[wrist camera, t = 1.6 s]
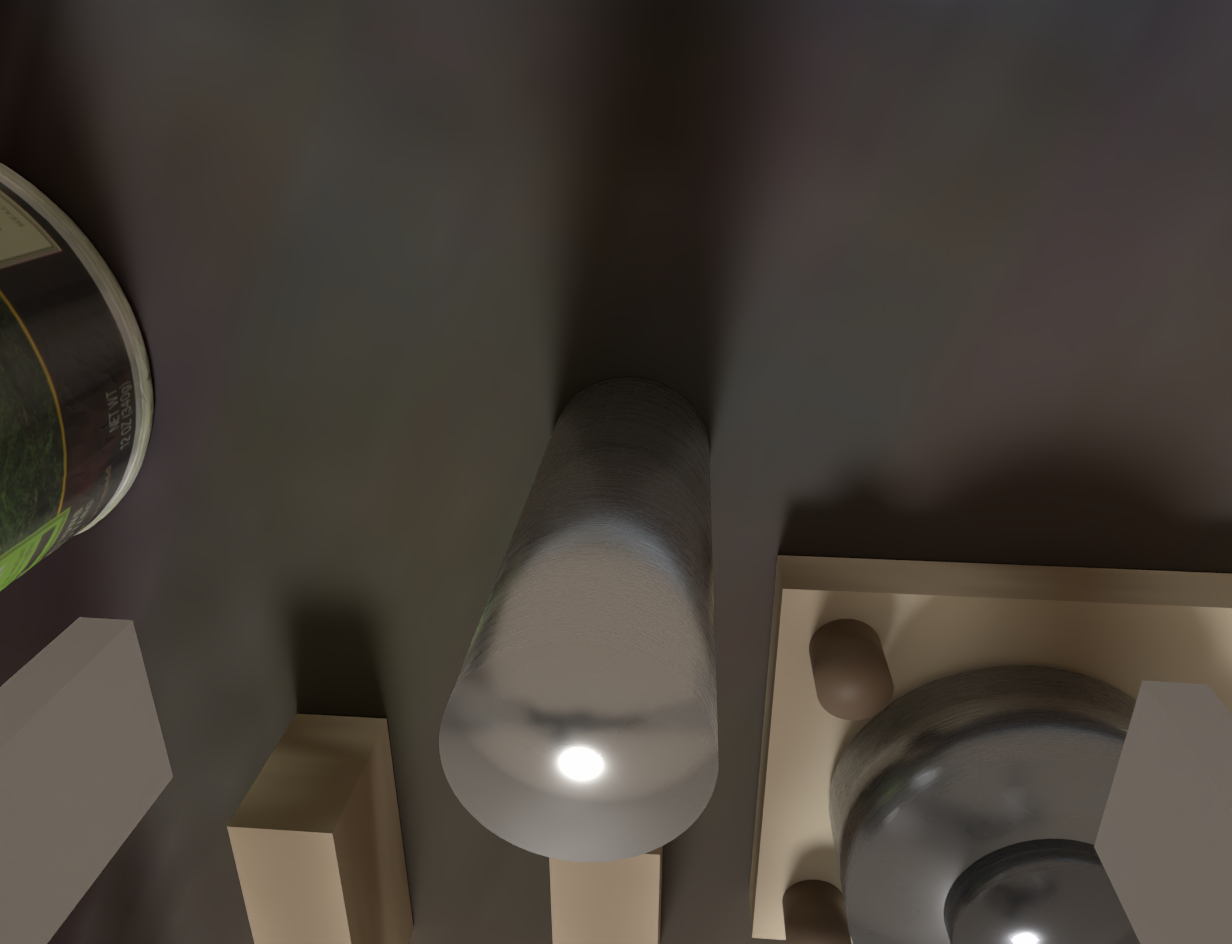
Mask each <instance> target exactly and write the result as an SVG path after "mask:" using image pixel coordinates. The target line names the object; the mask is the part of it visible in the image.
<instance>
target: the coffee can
mask: <svg viewBox="0 0 1232 944" xmlns="http://www.w3.org/2000/svg"><path fill="white" fill-rule="evenodd" d="M153 411H154V399H153V385H152V378H151V373H150V367H149V360H148V356H147V352H146V348H145V344H144V341H143V338H142V334H141V331H140V328H139V325H138V323H137V320H136V318H135V316H134V313H133V311H132V309H131V307H130V304H129V302H128V300H127V298H126V296H125V294H124V292H123V291H122V289H121V287H120V285H119V283H118V281H117V279H116V278H115V276H114V275H113V273H112V271H111V270H110V268H109V267H108V265H107V264H106V262H105V261H104V259H103V258H102V257H101V255H100V254H99V252H98V251H97V250H96V248H95V247H94V246H93V244H92V243H91V242H90V240H89V239H88V238H87V237H86V235H85V234H84V233H83V232H82V231H81V229H80V228H79V227H78V226H77V225H76V224H75V222H74V221H73V220H72V219H71V218H70V217H69V216H68V215H67V214H65V213H64V212H63V211H62V210H61V209H60V208H59V207H58V206H57V205H56V204H55V203H53V202H52V201H51V200H50V199H49V198H48V197H47V196H46V195H45V194H43V193H42V192H41V191H40V190H39V189H37V188H36V187H35V186H34V185H32V184H31V183H30V182H28V181H27V180H26V179H24V178H23V177H21V176H20V175H19V174H17V173H16V172H15V171H13V170H12V169H10V168H9V167H7V166H6V165H4V164H2V163H0V591H1V590H2V589H4V588H5V587H6V586H8V585H9V584H10V583H12V582H13V581H14V580H15V579H17V578H18V577H20V576H21V575H23V574H24V573H25V572H27V571H28V570H29V569H30V568H32V567H33V566H34V565H36V564H37V563H38V562H40V561H41V560H42V559H43V558H45V557H46V556H47V555H49V554H50V553H52V552H53V551H54V550H56V549H57V548H58V547H60V546H61V545H62V544H63V543H65V542H66V541H68V540H69V539H70V538H72V537H73V536H75V535H77V534H79V533H82V532H84V531H85V530H87V529H89V528H91V527H92V526H93V525H95V524H96V523H97V522H98V521H100V520H101V519H103V518H104V517H105V516H106V515H107V514H108V513H109V512H110V511H111V510H112V509H113V508H114V507H115V506H116V505H117V504H118V503H119V502H120V500H121V499H122V498H123V497H124V496H125V494H126V493H127V491H128V490H129V489H130V487H131V486H132V484H133V482H134V480H135V478H136V476H137V474H138V472H139V470H140V468H141V466H142V463H143V460H144V457H145V454H146V451H147V448H148V445H149V440H150V435H151V430H152V422H153Z"/></svg>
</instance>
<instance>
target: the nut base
mask: <svg viewBox="0 0 1232 944" xmlns="http://www.w3.org/2000/svg"><path fill="white" fill-rule="evenodd" d="M1006 665H1033V666H1043V667H1052V668H1059V669H1063V670H1068V671H1073V672H1077V673H1081V674H1084V675H1086V676H1089V677H1092V678H1095V679H1098V680H1101V681H1103V682H1105V683H1107V684H1109V685H1111V686H1113V687H1115V688H1117V689H1119V690H1121V691H1122V692H1124V693H1125V694H1127V695H1128V696H1130V697H1131V698H1133V699H1134V700H1136V701H1137V697H1138V694H1139V690H1140V687H1141V684H1142V680H1143V681H1160V682H1176V683H1193V684H1208V685H1209V686H1210V688H1211V689H1212V690H1213V691H1214V693H1215V694H1216V695H1217V697H1218V698H1219V699H1220V700H1221V702H1222V703H1223V704H1224V706H1225V707H1226V708H1227V709H1228V711H1229V712H1230V713H1231V714H1232V574H1230V573H1205V572H1180V571H1156V570H1131V569H1106V568H1082V567H1057V566H1032V565H1007V564H983V563H958V562H933V561H909V560H884V559H859V558H835V557H810V556H785V555H777V567H776V579H775V590H774V602H773V614H772V626H771V638H770V650H769V662H768V674H767V686H766V698H765V709H764V721H763V733H762V745H761V757H760V769H759V781H758V793H757V805H756V817H755V829H754V840H753V852H752V864H751V876H750V888H749V897H750V913H751V930H752V938H764V939H778V940H786V944H853V942H852V939H851V936H850V933H849V928H848V922H847V917H846V911H845V905H844V899H843V893H842V888H841V882H840V876H839V870H838V864H837V859H836V853H835V847H834V841H833V835H832V830H831V823H830V816H829V793H830V788H831V783H832V779H833V775H834V773H835V770H836V768H837V765H838V763H839V760H840V758H841V757H842V755H843V753H844V752H845V750H846V748H847V747H848V745H849V743H850V742H851V741H852V740H853V738H854V737H855V736H856V735H857V733H858V732H859V731H860V730H861V729H862V728H863V727H864V726H865V725H866V724H867V723H868V722H869V721H870V720H871V719H872V718H873V717H874V716H875V715H877V714H878V713H880V712H881V711H883V710H884V709H885V708H886V707H887V706H888V705H890V704H891V703H892V702H894V701H895V700H897V699H899V698H900V697H902V696H904V695H906V694H907V693H909V692H911V691H913V690H915V689H917V688H919V687H921V686H924V685H926V684H928V683H930V682H933V681H935V680H938V679H941V678H944V677H947V676H951V675H954V674H957V673H961V672H966V671H970V670H975V669H980V668H987V667H997V666H1006Z"/></svg>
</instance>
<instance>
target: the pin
mask: <svg viewBox="0 0 1232 944" xmlns="http://www.w3.org/2000/svg"><path fill="white" fill-rule="evenodd" d="M439 752H440V757H441V763H442V767H443V770H444V773H445V776H446V778H447V780H448V782H449V784H450V786H451V788H452V790H453V792H454V794H455V795H456V796H457V798H458V799H459V801H460V802H461V804H462V805H463V806H464V807H465V808H466V809H467V810H468V812H469V813H470V814H471V815H472V816H473V817H474V818H475V819H476V820H478V821H479V822H480V823H481V824H482V825H483V826H484V827H486V828H487V829H489V830H490V831H491V832H493V833H494V834H496V835H497V836H499V837H500V838H502V839H504V840H506V841H508V842H510V843H511V844H513V845H515V846H518V847H520V848H523V849H525V850H527V851H530V852H533V853H536V854H539V855H542V856H546V857H550V858H555V859H560V860H566V861H575V862H607V861H616V860H621V859H627V858H631V857H635V856H638V855H642V854H645V853H648V852H650V851H652V850H655V849H657V848H659V847H661V846H663V845H665V844H667V843H668V842H670V841H672V840H674V839H675V838H676V837H678V836H679V835H680V834H682V833H683V832H684V831H686V830H687V829H688V828H689V827H690V826H691V825H692V824H693V823H694V822H695V821H696V820H697V818H698V817H699V816H700V814H701V813H702V812H703V810H704V809H705V807H706V806H707V804H708V802H709V800H710V798H711V796H712V793H713V790H714V787H715V784H716V781H717V774H718V730H717V695H716V661H715V626H714V592H713V557H712V522H711V488H710V453H709V441H708V435H707V432H706V429H705V426H704V424H703V422H702V420H701V418H700V416H699V415H698V413H697V412H696V410H695V409H694V408H693V406H692V405H691V404H690V403H689V402H688V401H687V400H686V399H685V398H684V397H683V396H681V395H680V394H679V393H677V392H676V391H674V390H673V389H671V388H669V387H667V386H665V385H663V384H661V383H658V382H655V381H653V380H648V379H644V378H636V377H619V378H613V379H608V380H605V381H601V382H598V383H596V384H594V385H592V386H590V387H588V388H586V389H585V390H583V391H581V392H580V393H579V394H578V395H577V396H575V397H574V398H573V399H572V400H571V401H570V402H569V403H568V404H567V406H566V407H565V408H564V410H563V411H562V413H561V414H560V416H559V418H558V420H557V423H556V425H555V428H554V430H553V433H552V435H551V438H550V441H549V443H548V446H547V448H546V451H545V453H544V456H543V459H542V461H541V464H540V466H539V469H538V472H537V474H536V477H535V479H534V482H533V484H532V487H531V490H530V492H529V495H528V497H527V500H526V503H525V505H524V508H523V510H522V513H521V515H520V518H519V521H518V523H517V526H516V528H515V531H514V534H513V536H512V539H511V541H510V544H509V546H508V549H507V552H506V554H505V557H504V559H503V562H502V564H501V567H500V570H499V572H498V575H497V577H496V580H495V583H494V585H493V588H492V590H491V593H490V595H489V598H488V601H487V603H486V606H485V608H484V611H483V614H482V616H481V619H480V621H479V624H478V626H477V629H476V632H475V634H474V637H473V639H472V642H471V645H470V647H469V650H468V652H467V655H466V657H465V660H464V663H463V665H462V668H461V670H460V673H459V675H458V678H457V681H456V683H455V686H454V688H453V691H452V694H451V696H450V699H449V701H448V704H447V706H446V709H445V712H444V715H443V718H442V721H441V727H440V733H439Z"/></svg>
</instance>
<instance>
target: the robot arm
mask: <svg viewBox="0 0 1232 944" xmlns="http://www.w3.org/2000/svg"><path fill="white" fill-rule="evenodd" d="M172 778H173V775H172V771H171V767H170V763H169V759H168V756H167V752H166V748H165V744H164V740H163V736H162V732H161V728H160V725H159V721H158V717H157V713H156V709H155V705H154V701H153V698H152V694H151V690H150V686H149V682H148V678H147V674H146V670H145V667H144V663H143V659H142V655H141V651H140V647H139V643H138V640H137V636H136V632H135V628H134V624H133V620H117V619H100V618H83V617H79V618H78V619H77V620H76V621H75V622H74V623H73V624H71V625H70V626H69V627H68V628H67V629H66V630H65V631H63V632H62V633H61V634H60V635H59V636H58V637H57V638H55V639H54V640H53V641H52V642H51V643H50V644H49V645H47V646H46V647H45V648H44V649H43V650H42V651H41V652H40V653H38V654H37V655H36V656H35V657H34V658H33V659H32V660H30V661H29V662H28V663H27V664H26V665H25V666H24V667H22V668H21V669H20V670H19V671H18V672H17V673H16V674H15V675H13V676H12V677H11V678H10V679H9V680H8V681H7V682H5V683H4V684H3V685H2V686H1V687H0V944H47V943H48V942H49V941H50V939H51V938H52V937H53V935H54V934H55V933H56V931H57V930H58V929H59V927H60V926H61V925H62V923H63V922H64V921H65V919H66V918H67V917H68V915H69V914H70V913H71V911H72V910H73V909H74V907H75V906H76V905H77V903H78V902H79V901H80V899H81V898H82V897H83V896H84V894H85V893H86V892H87V890H88V889H89V888H90V886H91V885H92V884H93V882H94V881H95V880H96V878H97V877H98V876H99V874H100V873H101V872H102V870H103V869H104V868H105V866H106V865H107V864H108V862H109V861H110V860H111V858H112V857H113V856H114V854H115V853H116V852H117V851H118V849H119V848H120V847H121V845H122V844H123V843H124V841H125V840H126V839H127V837H128V836H129V835H130V833H131V832H132V831H133V829H134V828H135V827H136V825H137V824H138V823H139V821H140V820H141V819H142V817H143V816H144V815H145V813H146V812H147V811H148V809H149V808H150V807H151V805H152V804H153V803H154V802H155V800H156V799H157V798H158V796H159V795H160V794H161V792H162V791H163V790H164V788H165V787H166V786H167V784H168V783H169V782H170V780H171V779H172ZM1094 848H1095V850H1096V852H1097V854H1098V856H1099V858H1100V860H1101V862H1102V864H1103V867H1104V869H1105V871H1106V873H1107V875H1108V877H1109V879H1110V881H1111V883H1112V885H1113V888H1114V890H1115V892H1116V894H1117V896H1118V898H1119V900H1120V902H1121V904H1122V906H1123V908H1124V911H1125V913H1126V915H1127V917H1128V919H1129V921H1130V923H1131V925H1132V927H1133V929H1134V931H1135V934H1136V936H1137V938H1138V940H1139V942H1140V944H1232V714H1231V713H1230V712H1229V711H1228V709H1227V708H1226V707H1225V706H1224V704H1223V703H1222V702H1221V700H1220V699H1219V698H1218V697H1217V695H1216V694H1215V693H1214V691H1213V690H1212V689H1211V688H1210V686H1209V685H1208V684H1193V683H1176V682H1160V681H1143V680H1142V684H1141V687H1140V690H1139V694H1138V697H1137V701H1136V704H1135V707H1134V711H1133V714H1132V718H1131V721H1130V725H1129V728H1128V731H1127V735H1126V738H1125V742H1124V745H1123V749H1122V752H1121V755H1120V759H1119V762H1118V766H1117V769H1116V773H1115V776H1114V779H1113V783H1112V786H1111V790H1110V793H1109V797H1108V800H1107V803H1106V807H1105V810H1104V814H1103V817H1102V821H1101V824H1100V827H1099V831H1098V834H1097V838H1096V841H1095V845H1094Z"/></svg>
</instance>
